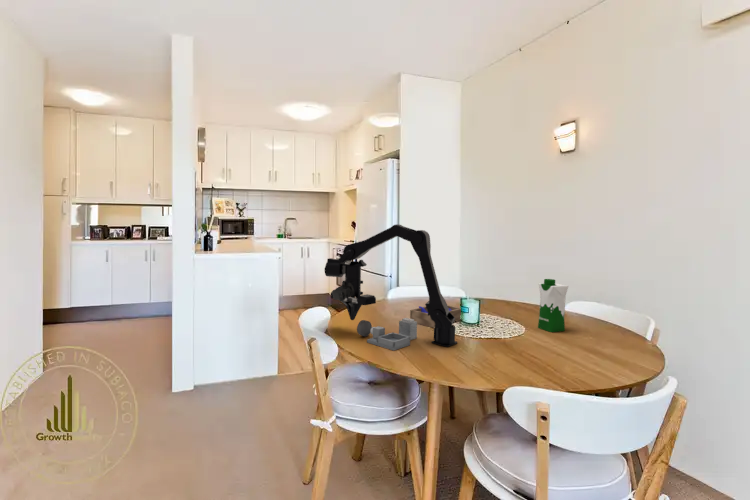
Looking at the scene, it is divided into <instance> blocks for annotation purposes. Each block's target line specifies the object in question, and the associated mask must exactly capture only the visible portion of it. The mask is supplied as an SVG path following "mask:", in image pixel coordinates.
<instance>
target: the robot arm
mask: <svg viewBox="0 0 750 500" xmlns="http://www.w3.org/2000/svg"><path fill="white" fill-rule="evenodd" d="M397 237H399V238H401V239H403V240H405V241H407V242H410V244H411V246H412V248H413V250H414V252H415V254H416V255H417V257H418V259H419V263H420V267H421V272H422V274H423V279H424V282H425V283H424V284H425V286H426V290H427V295H428V301H427V302H426V303H425V304H424V305H425V307H426V308H427V310H428V316H429V315H430V318H431V319H432V320H433V321H434V322H435V328H433V340H432V341H431V343H432V344H435V345H439V346H442V347H446V348H448V347H451V346H454V345H457V344H458V341H456V340H455V339H456V326H454V323H455V322H454V321H455V317H454V316H453V315H452V314H451V313H450V312H449V308H448V306H449V305H448V304H447V301H446V299H445V298H444V296H443V294H442V293H441V289H440V285H439V281H438V278H437V275H436V274H437V273H436V270H435V267H434V263H433V259H432V256H431V255H432V254H431V250H432V249H431V247H432V246H431V245H432V244H431V238H430V237H431V236H430V234H429V232H428V231H426V230H423V229H420V230H419V229H418V230H416V229H413V228H410V227H406V226H404V225H402V224H400V223H399V224H393V225H392V226H391V227H389V228H387V229H384V230H383V231H380V232H378V233H377V234H374V235H372V236H371V237H368V238H366V239H364V240H361V241H356V242H353V243H350V244H347V245H346V246H344V247H343V248H344V249H343V253H342V254H341V255H340V257H339V258H338V259H337V258H330V257H329V258H327V261H326V264H325V267H324V275H325V276H326V277H331V278H332V277H333V278H342V277H343V276H344V277H345V278H344V280H342V282H341V285H340V286H338V287H336V288H335V289H333V290H332V291H331V292H330V298H331V299H333V300H335V301H339V302H340V303H343V305H345V307H346V310H347V312H348V316H349V319H350V320H351V321H354V320H355V319H356V317H357V315H358V313H359V311H360V309H361V307H362V306H368V305H373V304H374V305H375V304H376V303H377V298H376V296H375V295H373V294H364V291H362V290H361V289H362V288H361V287H362V285H363V284H364V280H362V277H361V275H362V267H363V268H364V267H366V266H367V263H366V262H365V261H364V259H361V258H362V257H363V256H365V255H366V254H367V253H369V252H370V251H371V250H372V249H374V248H377V247H378V246H380V245H382V244H385V243H386V242H389V241H390V240H392V239H395V238H397ZM358 259H359V260H358ZM354 260H356V261H354ZM357 260H358V261H357ZM347 262H349V263H347ZM361 284H362V285H361Z"/></svg>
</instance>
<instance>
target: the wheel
mask: <svg viewBox="0 0 750 500" xmlns="http://www.w3.org/2000/svg"><path fill="white" fill-rule="evenodd" d="M372 327H373V326H372V323H371V321H369V320H365V319H363V320H360V321H359V322H358V324H357V327H356V333H357V334H358V335H359V336H362V337H368V336H369V335H371V333H370V330H371V328H372Z"/></svg>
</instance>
